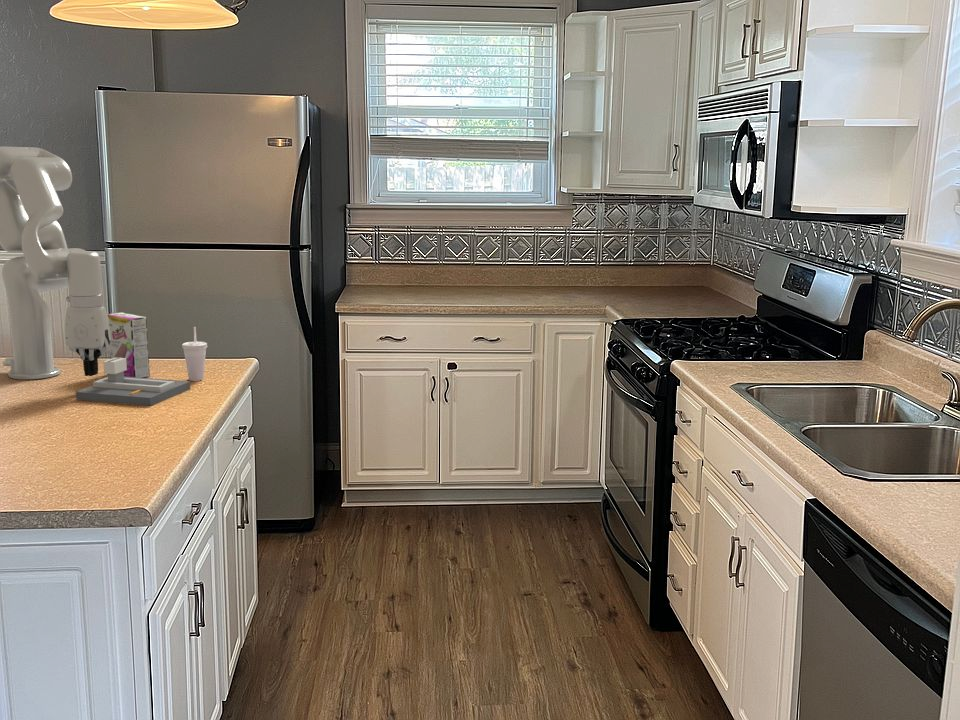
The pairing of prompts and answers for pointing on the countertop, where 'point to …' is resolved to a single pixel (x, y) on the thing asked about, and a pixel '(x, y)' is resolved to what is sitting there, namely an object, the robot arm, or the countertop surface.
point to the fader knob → (115, 369)
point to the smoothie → (195, 358)
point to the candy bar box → (130, 343)
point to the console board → (133, 391)
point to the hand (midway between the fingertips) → (91, 374)
